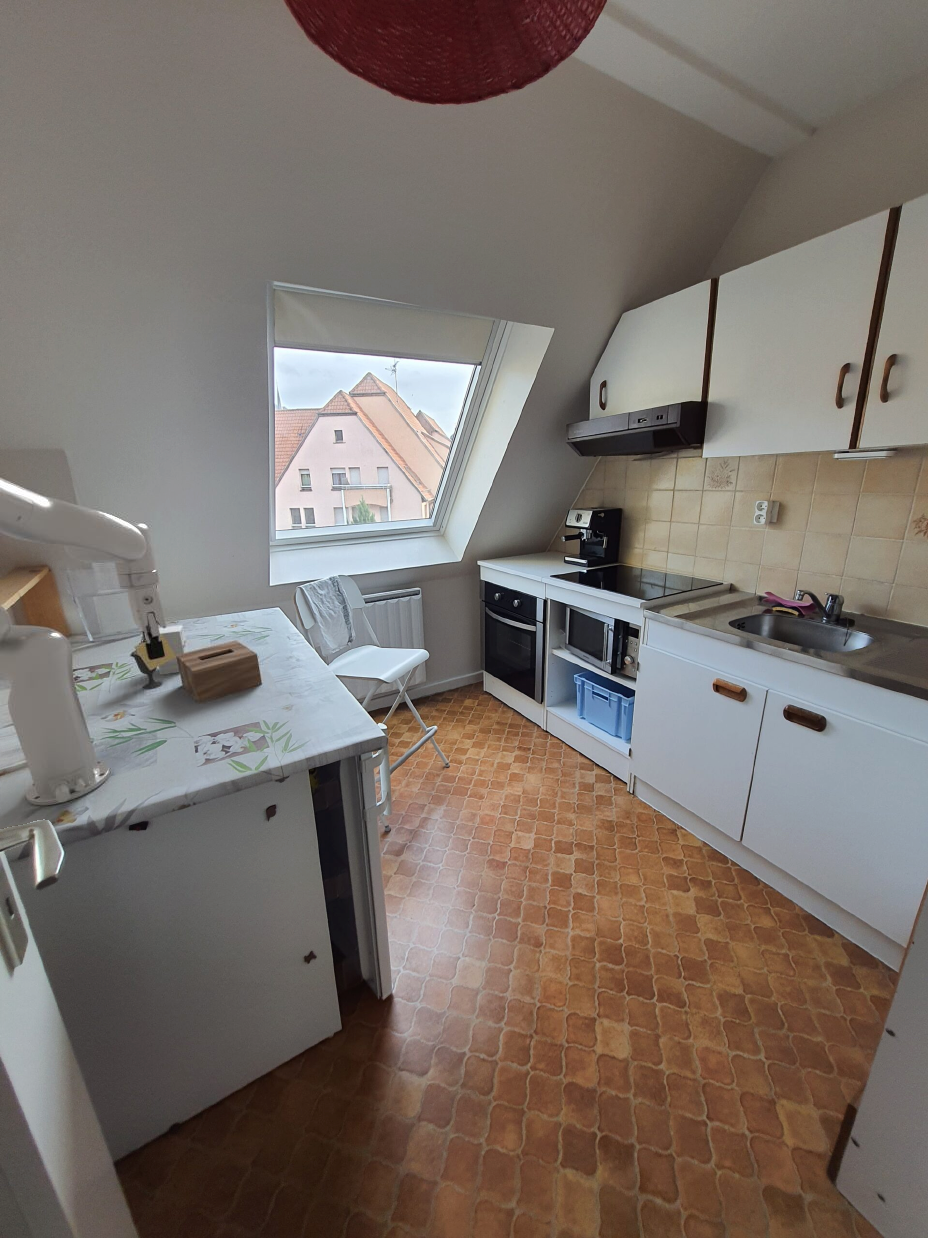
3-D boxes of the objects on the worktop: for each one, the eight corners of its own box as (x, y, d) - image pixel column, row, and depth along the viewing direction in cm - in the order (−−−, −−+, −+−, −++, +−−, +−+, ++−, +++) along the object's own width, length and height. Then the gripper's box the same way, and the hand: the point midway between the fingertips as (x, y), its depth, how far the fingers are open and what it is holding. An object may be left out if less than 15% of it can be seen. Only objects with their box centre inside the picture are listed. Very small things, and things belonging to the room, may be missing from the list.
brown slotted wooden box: (262, 683, 133) (256, 653, 131) (199, 703, 123) (192, 671, 120) (241, 668, 145) (236, 640, 142) (182, 685, 134) (175, 655, 132)
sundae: (153, 691, 131) (141, 639, 126) (132, 689, 132) (119, 638, 128) (172, 681, 137) (160, 631, 132) (152, 680, 138) (140, 630, 134)
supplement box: (188, 671, 144) (179, 631, 140) (159, 675, 141) (150, 634, 138) (191, 662, 151) (183, 624, 147) (164, 666, 148) (155, 627, 144)
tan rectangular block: (176, 656, 114) (163, 635, 111) (150, 670, 111) (136, 649, 108) (174, 654, 116) (160, 633, 113) (148, 668, 112) (134, 646, 110)
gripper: (166, 581, 104) (182, 661, 109) (150, 572, 115) (165, 645, 120) (125, 587, 99) (144, 670, 104) (112, 577, 110) (130, 653, 115)
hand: (155, 656), depth 112 cm, fingers closed on tan rectangular block, 1 cm apart
